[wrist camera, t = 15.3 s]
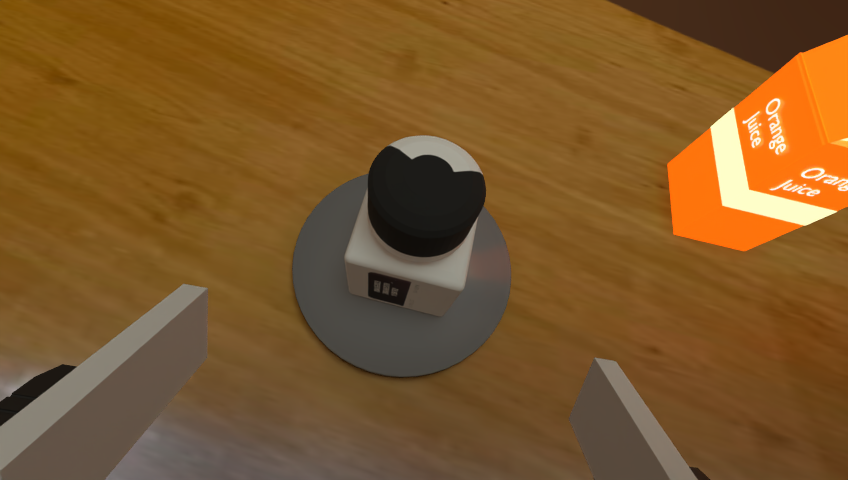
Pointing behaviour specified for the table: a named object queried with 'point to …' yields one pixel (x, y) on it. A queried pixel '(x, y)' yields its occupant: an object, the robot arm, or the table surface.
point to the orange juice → (769, 157)
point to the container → (416, 225)
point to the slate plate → (386, 323)
